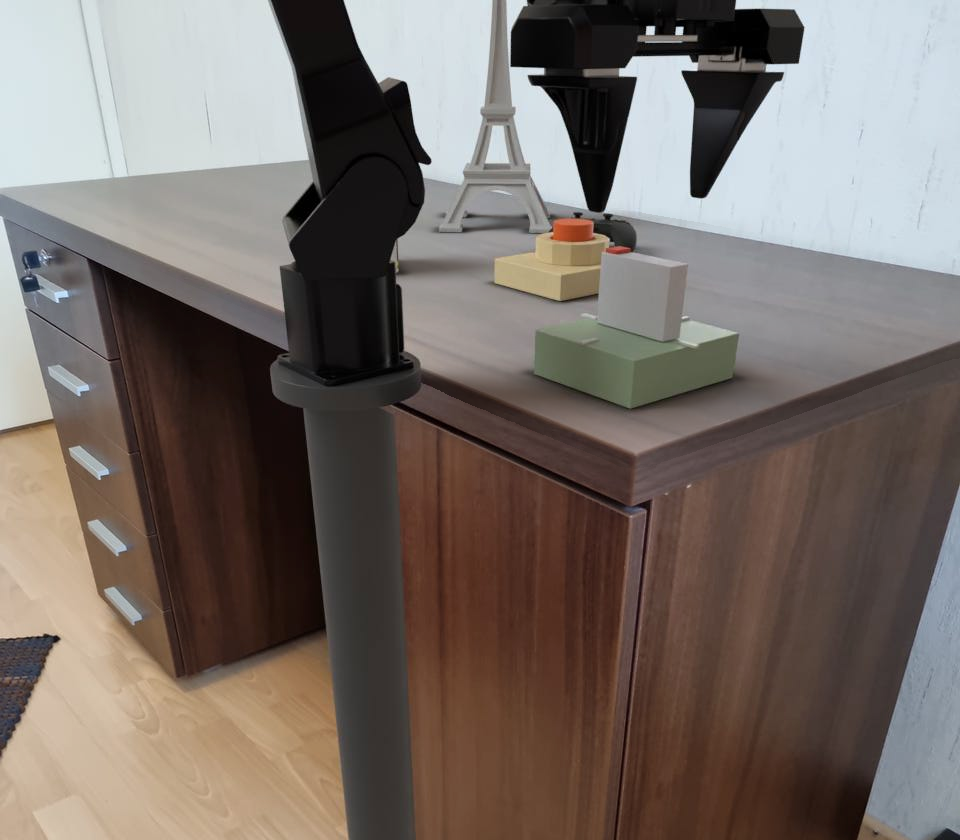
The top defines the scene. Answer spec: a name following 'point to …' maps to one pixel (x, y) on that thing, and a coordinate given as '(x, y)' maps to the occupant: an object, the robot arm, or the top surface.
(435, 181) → the top surface
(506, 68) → the eiffel tower
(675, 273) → the white square block
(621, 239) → the gaming controller
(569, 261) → the switch
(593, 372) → the panel
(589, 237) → the button
